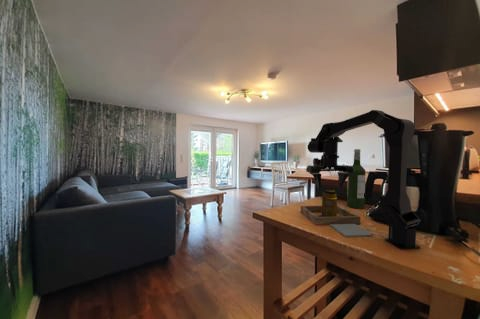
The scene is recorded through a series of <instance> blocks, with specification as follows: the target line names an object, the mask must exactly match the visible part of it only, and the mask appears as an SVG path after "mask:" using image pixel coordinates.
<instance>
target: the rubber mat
mask: <svg viewBox="0 0 480 319" xmlns="http://www.w3.org/2000/svg"><path fill="white" fill-rule="evenodd" d="M329 226H330V227H331V228H332V229H333V230H334V231H336V232H337V233H339V234H340V235H341V236H342V237H344V238H355V237H356V238H359V237H360V238H361V237H364V238H365V237H373V236H374V235H373V233H371V232H370V231H367V230H366V229H364V228H362V227H361V226H359V225H358V224H330V225H329Z"/></svg>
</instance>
